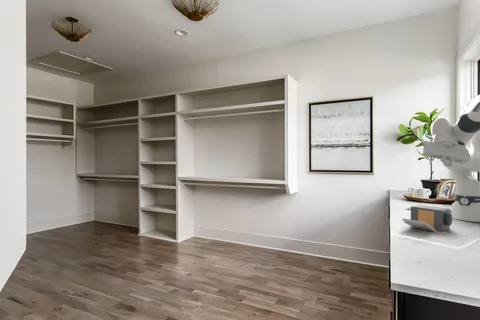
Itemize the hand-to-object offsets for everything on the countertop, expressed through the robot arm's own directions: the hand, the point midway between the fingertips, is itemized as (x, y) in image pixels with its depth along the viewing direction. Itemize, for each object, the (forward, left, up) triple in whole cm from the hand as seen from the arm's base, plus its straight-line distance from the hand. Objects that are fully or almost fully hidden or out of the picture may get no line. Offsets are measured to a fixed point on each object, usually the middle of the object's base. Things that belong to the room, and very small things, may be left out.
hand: (448, 166), depth 137 cm
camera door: (+5, -8, -31) cm, 32 cm away
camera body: (0, -8, -32) cm, 33 cm away
